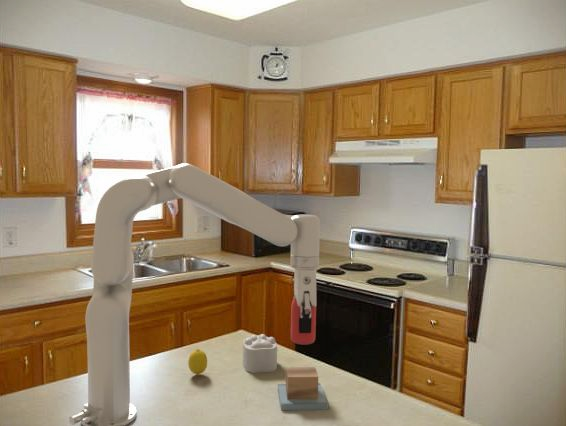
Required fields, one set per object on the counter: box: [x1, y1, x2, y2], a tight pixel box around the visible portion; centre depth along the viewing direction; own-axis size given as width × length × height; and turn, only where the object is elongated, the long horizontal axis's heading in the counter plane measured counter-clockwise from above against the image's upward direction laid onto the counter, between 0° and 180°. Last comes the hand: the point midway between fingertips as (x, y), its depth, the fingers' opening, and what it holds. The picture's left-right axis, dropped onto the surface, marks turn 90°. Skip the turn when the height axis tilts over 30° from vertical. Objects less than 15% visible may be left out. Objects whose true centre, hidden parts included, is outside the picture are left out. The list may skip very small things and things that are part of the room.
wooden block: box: [285, 366, 319, 399], centre depth 129 cm, size 6×8×6 cm
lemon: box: [187, 348, 208, 376], centre depth 143 cm, size 6×6×8 cm
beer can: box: [290, 295, 317, 346], centre depth 128 cm, size 7×7×12 cm
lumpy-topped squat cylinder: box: [242, 333, 278, 374], centre depth 153 cm, size 10×13×9 cm
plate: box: [277, 382, 328, 411], centre depth 130 cm, size 12×12×2 cm
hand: (303, 327), depth 128 cm, fingers closed on beer can, 6 cm apart
